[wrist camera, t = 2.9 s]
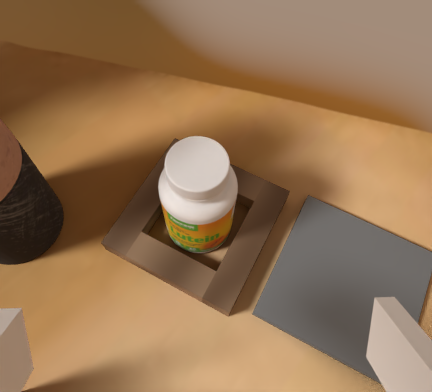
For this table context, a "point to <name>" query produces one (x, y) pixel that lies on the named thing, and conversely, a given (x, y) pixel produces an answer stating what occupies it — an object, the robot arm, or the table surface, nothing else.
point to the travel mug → (24, 205)
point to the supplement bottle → (198, 194)
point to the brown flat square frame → (185, 266)
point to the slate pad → (341, 282)
